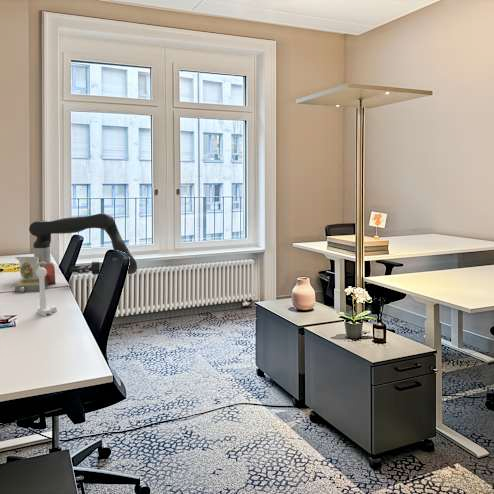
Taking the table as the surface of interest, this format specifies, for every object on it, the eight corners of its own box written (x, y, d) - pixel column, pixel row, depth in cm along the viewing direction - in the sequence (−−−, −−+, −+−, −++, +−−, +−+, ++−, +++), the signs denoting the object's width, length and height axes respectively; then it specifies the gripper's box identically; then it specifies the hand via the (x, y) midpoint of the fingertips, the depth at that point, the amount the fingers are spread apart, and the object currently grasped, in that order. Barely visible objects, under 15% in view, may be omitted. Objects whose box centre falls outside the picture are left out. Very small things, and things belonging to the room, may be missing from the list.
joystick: (35, 311, 225) (33, 266, 222) (53, 308, 229) (51, 264, 226) (40, 316, 216) (37, 269, 213) (59, 314, 220) (56, 267, 217)
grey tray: (21, 287, 277) (20, 279, 276) (48, 285, 280) (47, 278, 279) (13, 293, 261) (12, 285, 261) (42, 292, 264) (42, 284, 264)
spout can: (45, 283, 287) (44, 257, 285) (56, 282, 288) (54, 256, 286) (43, 285, 282) (42, 258, 280) (54, 284, 283) (53, 258, 281)
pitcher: (45, 282, 290) (43, 258, 289) (12, 282, 289) (11, 258, 288) (51, 278, 301) (50, 255, 300) (20, 279, 300) (18, 255, 299)
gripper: (101, 259, 296) (72, 260, 293) (99, 263, 282) (68, 264, 279) (102, 272, 296) (73, 273, 293) (100, 276, 283) (69, 278, 280)
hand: (70, 269), depth 286 cm, fingers open, 8 cm apart
